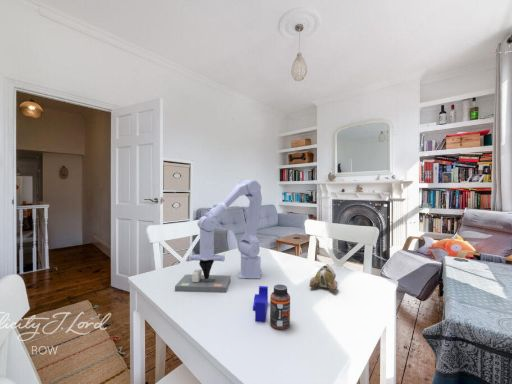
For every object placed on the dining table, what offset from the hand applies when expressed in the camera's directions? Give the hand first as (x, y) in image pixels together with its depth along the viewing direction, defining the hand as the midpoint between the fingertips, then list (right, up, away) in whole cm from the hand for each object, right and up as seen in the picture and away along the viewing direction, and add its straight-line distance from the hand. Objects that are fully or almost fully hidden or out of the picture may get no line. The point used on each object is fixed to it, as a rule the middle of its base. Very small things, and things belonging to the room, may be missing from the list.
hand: (206, 277), depth 97 cm
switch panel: (-1, -3, 0) cm, 3 cm away
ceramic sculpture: (+49, -4, 0) cm, 49 cm away
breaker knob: (-4, -1, 0) cm, 4 cm away
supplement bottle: (+28, -4, -27) cm, 39 cm away
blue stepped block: (+22, -4, -20) cm, 29 cm away
